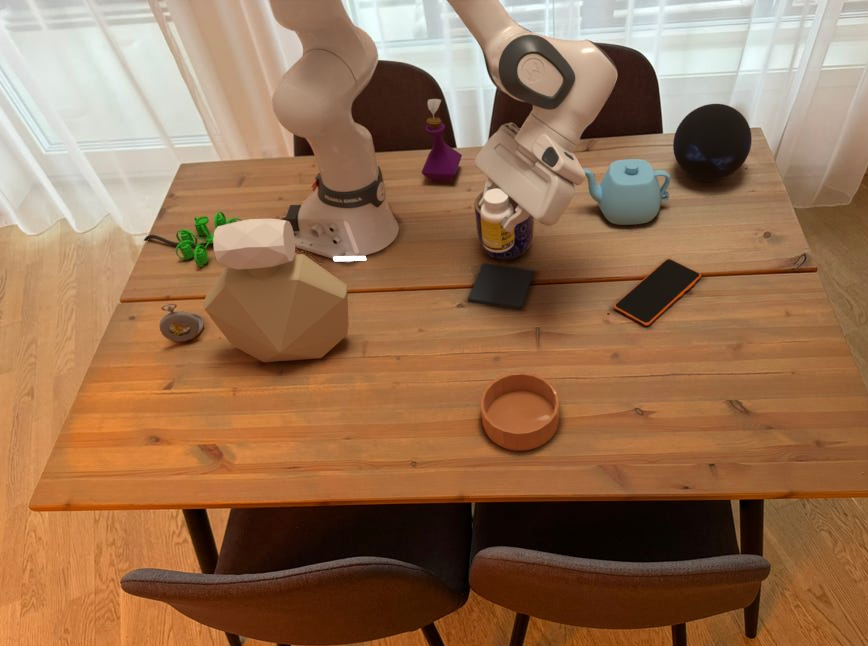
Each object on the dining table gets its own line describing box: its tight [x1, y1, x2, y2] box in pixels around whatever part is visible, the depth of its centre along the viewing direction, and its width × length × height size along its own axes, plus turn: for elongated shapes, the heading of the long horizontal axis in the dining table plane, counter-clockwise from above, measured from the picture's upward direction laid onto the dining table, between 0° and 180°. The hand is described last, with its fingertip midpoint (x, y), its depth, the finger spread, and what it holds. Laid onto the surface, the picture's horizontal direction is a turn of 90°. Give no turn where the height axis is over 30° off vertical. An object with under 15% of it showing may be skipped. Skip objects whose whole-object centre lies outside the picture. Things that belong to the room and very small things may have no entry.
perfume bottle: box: [421, 98, 463, 183], centre depth 158 cm, size 8×8×18 cm
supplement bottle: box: [480, 189, 514, 253], centre depth 123 cm, size 5×5×10 cm
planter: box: [474, 190, 535, 261], centre depth 142 cm, size 11×11×11 cm
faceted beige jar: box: [202, 218, 349, 363], centre depth 123 cm, size 12×24×28 cm, turn 91°
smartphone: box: [613, 258, 702, 327], centre depth 134 cm, size 8×17×1 cm, turn 135°
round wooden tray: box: [480, 371, 560, 452], centre depth 117 cm, size 12×12×4 cm
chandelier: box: [175, 211, 243, 267], centre depth 153 cm, size 15×15×7 cm
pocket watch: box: [159, 303, 205, 342], centre depth 135 cm, size 7×8×10 cm
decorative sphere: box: [672, 103, 753, 182], centre depth 151 cm, size 15×15×15 cm
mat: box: [467, 263, 535, 310], centre depth 139 cm, size 10×10×1 cm
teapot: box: [582, 158, 671, 226], centre depth 147 cm, size 13×11×18 cm
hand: (493, 218), depth 122 cm, fingers closed on supplement bottle, 5 cm apart
